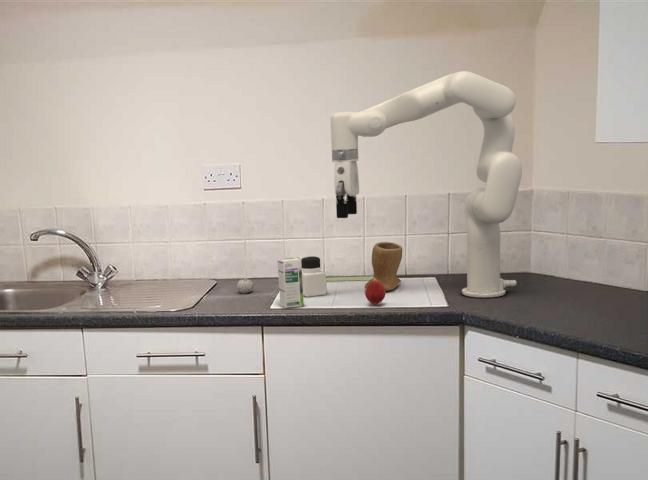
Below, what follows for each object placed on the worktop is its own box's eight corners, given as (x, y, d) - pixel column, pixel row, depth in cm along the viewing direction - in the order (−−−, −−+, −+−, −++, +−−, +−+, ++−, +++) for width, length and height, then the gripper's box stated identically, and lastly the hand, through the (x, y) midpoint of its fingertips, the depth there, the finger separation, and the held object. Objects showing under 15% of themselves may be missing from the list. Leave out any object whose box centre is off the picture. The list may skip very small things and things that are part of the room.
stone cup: (397, 294, 235) (396, 246, 232) (360, 292, 241) (359, 245, 238) (410, 284, 249) (409, 239, 246) (375, 283, 254) (374, 239, 251)
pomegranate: (385, 307, 218) (384, 280, 217) (365, 307, 219) (364, 280, 218) (386, 303, 224) (385, 276, 222) (366, 303, 225) (365, 276, 224)
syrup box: (285, 308, 224) (283, 260, 221) (279, 304, 230) (277, 257, 227) (303, 306, 226) (301, 258, 223) (297, 302, 231) (295, 255, 228)
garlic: (252, 294, 247) (251, 278, 246) (236, 295, 248) (235, 279, 247) (254, 290, 253) (253, 275, 252) (238, 291, 254) (237, 276, 253)
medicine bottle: (327, 294, 241) (325, 257, 238) (306, 297, 238) (305, 259, 236) (317, 290, 247) (315, 254, 245) (297, 293, 245) (295, 256, 242)
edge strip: (373, 276, 266) (373, 276, 266) (373, 280, 260) (373, 279, 260) (316, 278, 269) (316, 277, 269) (315, 281, 263) (315, 280, 263)
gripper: (349, 156, 208) (351, 219, 211) (365, 154, 223) (366, 212, 226) (323, 158, 210) (325, 219, 214) (340, 155, 226) (342, 213, 229)
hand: (347, 216), depth 220 cm, fingers open, 9 cm apart
